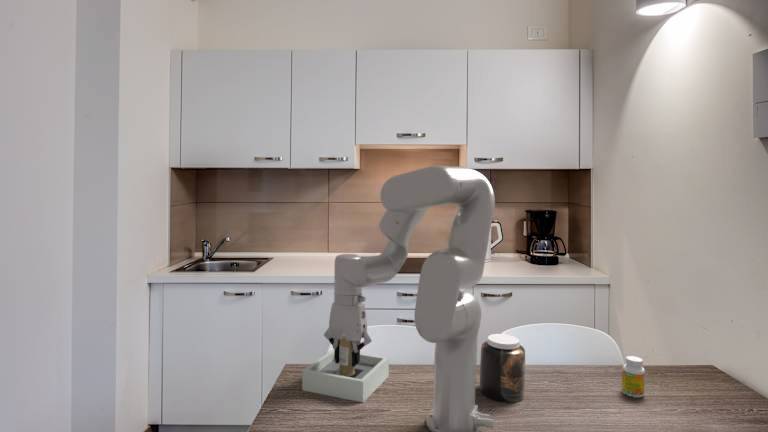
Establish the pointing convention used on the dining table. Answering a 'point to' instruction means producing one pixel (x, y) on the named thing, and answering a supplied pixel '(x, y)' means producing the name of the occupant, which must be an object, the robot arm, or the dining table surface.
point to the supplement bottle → (633, 377)
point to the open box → (356, 387)
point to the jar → (502, 368)
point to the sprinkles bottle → (346, 358)
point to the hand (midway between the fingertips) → (347, 362)
